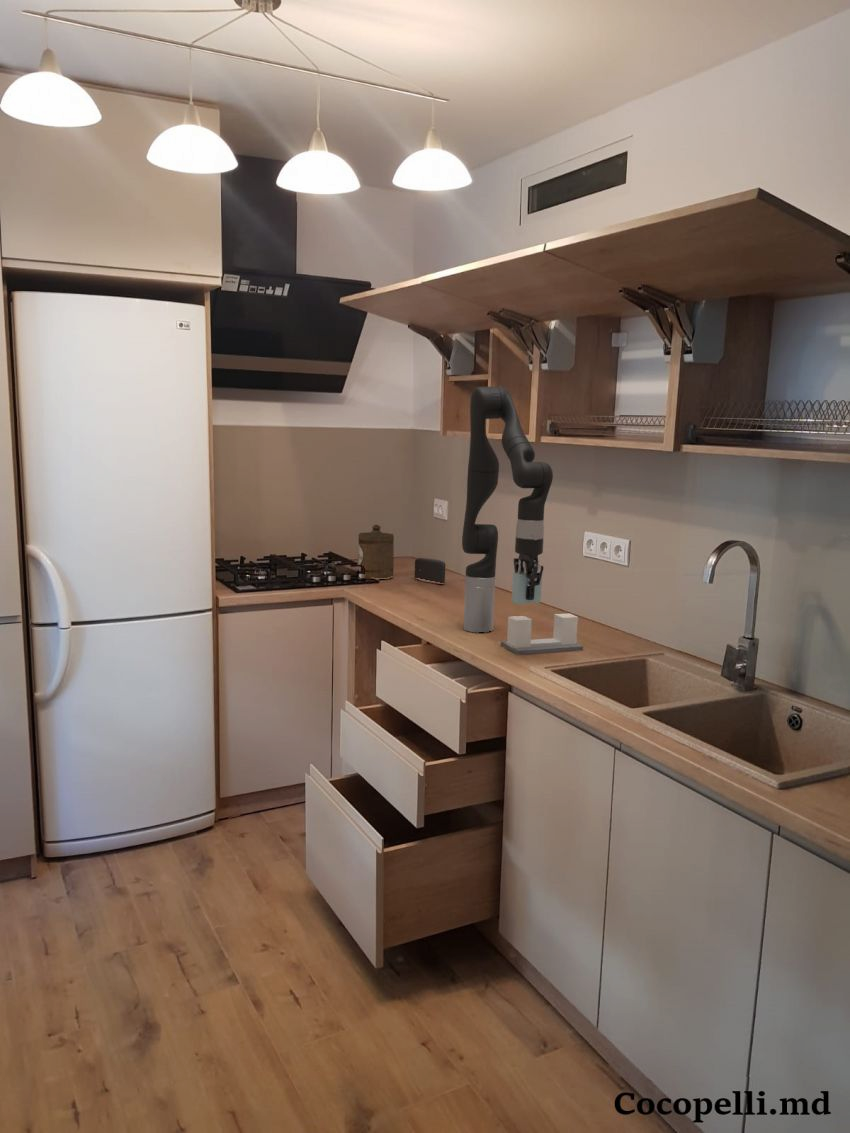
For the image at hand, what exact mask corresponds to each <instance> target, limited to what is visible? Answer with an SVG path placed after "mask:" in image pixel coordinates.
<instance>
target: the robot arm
mask: <svg viewBox="0 0 850 1133" xmlns="http://www.w3.org/2000/svg"><path fill="white" fill-rule="evenodd" d="M514 403H515V402H514V401H513V398H512V396H511V393H510V392H509V390H508V389H507V388H506V387H504V386H499V385H498V386H496V385H495V386H477V387H475V388H474V389H473V390H472V392H471V397H470V406H469V408H470V412H469V415H470V422H469V424H470V425H469V426H470V440H469V442H470V443H469V457H468V464H467V465H468V466H467V467H468V468H467V479H466V480H467V483H466V502H465V503H466V505H465V512H464V520H463V527H462V536H461V538H462V539H461V545H462V546H461V547H462V550H463V552H464V553H465V554H470V555H484V557H483V558H482V559H480V560H478V561H477V562H473V563H471V564H468V565H467V566H466V567H465V578H464V579H465V582H464V584H465V585H464V586H465V587H464V608H463V612H464V613H463V631H466V632H471V633H478V634H479V632H484V633H490V632H489V631H491V632H493V631H494V615H495V612H494V611H495V595H496V594H495V591H496V590H495V589H496V569H497V568H496V567H497V553H498V545H499V544H498V543H499V532H498V527H497V526H496V525H495V524H487V523H485V524H482V523H480V524H479V523H476V520H477V519H478V515H479V513H480V511H481V509H482V508H483V506H484V505H485V504H486V502H487V501H488V499H490V497H491V496H492V495H493V493H494V492H495V490H496V488H497V487H498V483H499V473H500V472H499V471H500V463H499V462H500V461H499V458H498V457H497V454H496V452H495V451H494V449H493V447H492V445H491V443H490V441H489V439H488V437H487V432H486V420H496V419H497V420H498V419H501V420H502V421H503V422H504V428H503V432H502V435H501V445H502V448H503V450H504V452H505V454H506V456H507V458H508V459H509V461H510V462H509V463H510V467H511V474H512V480H513V482H514V484H515V485H516V486H517V487H519V488H521V489H533V490H532V492H531V494H530V495H528V496H524V497H521V498H520V499H519V500H518V504H517V506H518V507H517V520H516V527H515V542H514V544H515V545H514V551H515V553H516V554H518V557H517V558H513V566H514V567H513V568H514V569H513V570H514V573H522V572H524V575H525V578H526V585H527V586H526V599H527V600H533V599H534V589H535V586H536V585H539V584H540V580H541V576H542V577H543V571H544V565H540V564H539V558H538V556H540V555H542V554H543V553H544V539H545V538H544V537H545V536H544V535H545V534H544V533H545V525H544V522H545V521H544V520H545V518H544V516H545V505H546V501H547V499H548V495H549V492H550V490H551V486H552V484H553V479H554V474H553V472H554V471H553V469H552V467H551V466H550V464H549V463H548V462H543V461H534V460H535V456H536V454H535V450H534V448H533V447H532V444H531V442H530V441H529V439H528V437H527V436H526V434H525V432H524V430H523V428H522V425H521V421H520V419H519V415H518V413H517V409H516V406H515V404H514ZM529 574H532V575H529ZM530 578H531V579H530ZM536 578H537V581H536Z"/></svg>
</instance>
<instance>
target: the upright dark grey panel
mask: <svg viewBox="0 0 850 1133" xmlns="http://www.w3.org/2000/svg"><path fill="white" fill-rule="evenodd" d="M415 578H420V579H425V580H430V581H435V582H440V583H446V563H445V562H444V561H442V560H440V559H435V558H434V559H433V558H426V557H417V558H415V561H414V579H415Z"/></svg>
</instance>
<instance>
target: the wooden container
mask: <svg viewBox="0 0 850 1133" xmlns="http://www.w3.org/2000/svg"><path fill="white" fill-rule="evenodd" d="M394 545H395V544H394V534H393V533H388V532H382V531H381V525H379V524H374V525H373V526H372V530H371V531H370V532H360V533H358V547H357V548H358V550H357V551H358V552H357V553H358V554H357V566H358V565H362V566H364V568H365V574H366V576H368V577H374V578H388V577H391V576H393V577H394V569H395V568H394V566H395V564H394V562H395V561H394V560H395V559H394V557H395V556H394V551H395V550H394Z"/></svg>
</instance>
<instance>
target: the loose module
mask: <svg viewBox="0 0 850 1133" xmlns="http://www.w3.org/2000/svg"><path fill="white" fill-rule="evenodd" d="M529 575H532V574H529ZM530 579H531V578H530ZM542 579H543V575H542V576H541V580H540V584H539V585H536V586H535V589H534V599H533V600H527V599H526V586H527V585H526V578H525V575H524V572H522V573H515V572H513V573H512V586H511V602H512V603H514V604H516V605H523V604H524V605H527V604H541V599H542V598H541V597H542V582H543V580H542ZM536 581H537V578H536Z"/></svg>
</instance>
